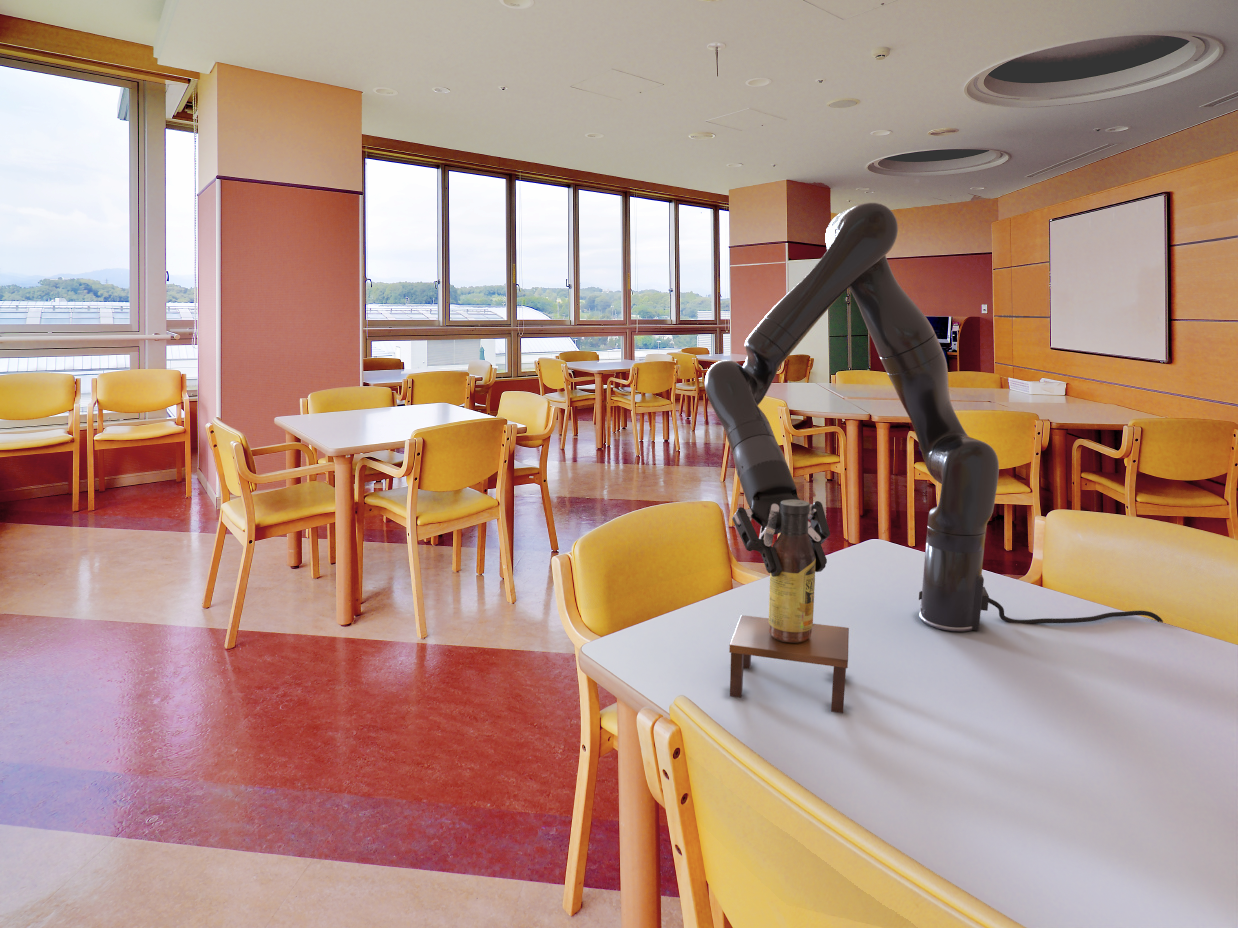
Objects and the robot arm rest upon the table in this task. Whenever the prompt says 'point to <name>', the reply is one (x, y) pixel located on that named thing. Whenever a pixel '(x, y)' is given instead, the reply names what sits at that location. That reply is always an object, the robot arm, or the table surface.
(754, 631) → the small brown wooden table
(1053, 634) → the table surface
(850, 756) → the table surface
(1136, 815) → the table surface
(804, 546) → the sauce bottle
